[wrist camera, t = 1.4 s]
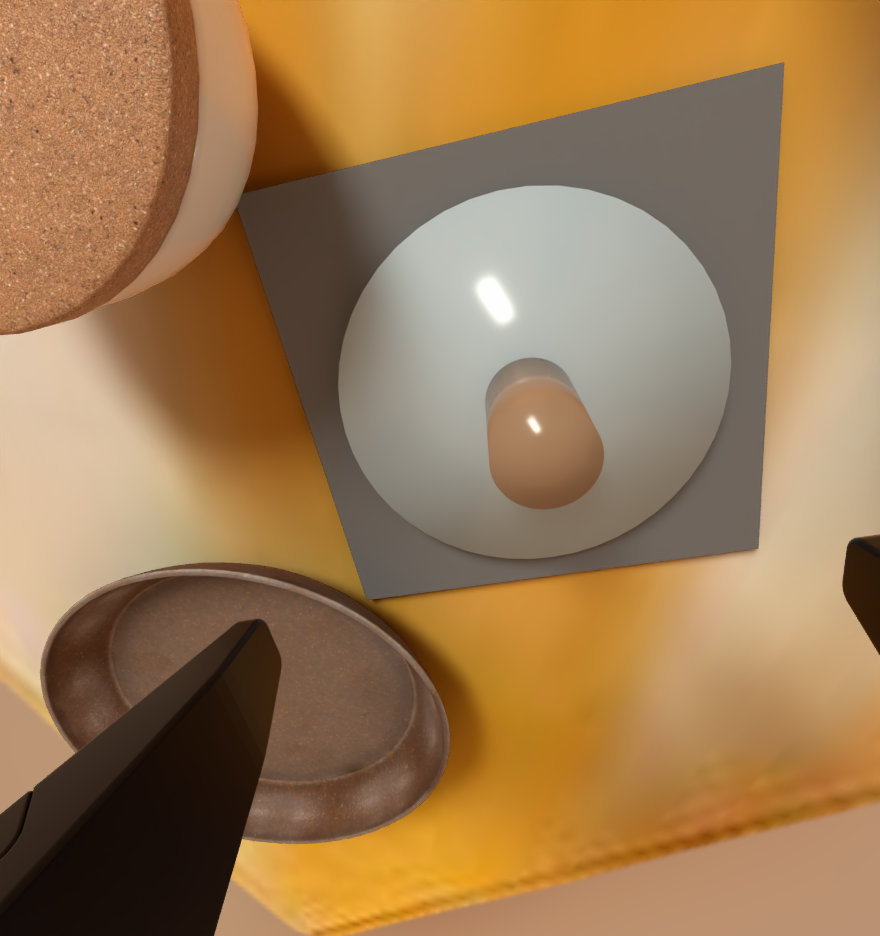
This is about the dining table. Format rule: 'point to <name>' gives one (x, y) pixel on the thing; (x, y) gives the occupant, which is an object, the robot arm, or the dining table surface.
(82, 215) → the lidded jar
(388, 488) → the lid
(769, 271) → the mat
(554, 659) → the dining table surface
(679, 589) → the dining table surface
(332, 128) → the dining table surface
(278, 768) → the plant saucer
